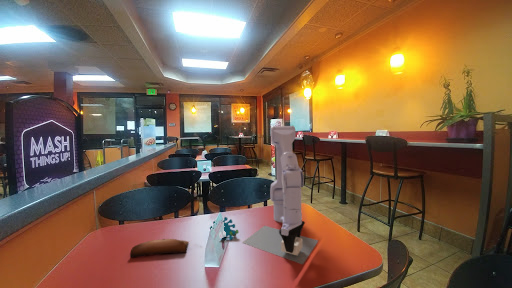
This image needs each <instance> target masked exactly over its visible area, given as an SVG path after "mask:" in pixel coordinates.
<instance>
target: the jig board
mask: <svg viewBox="0 0 512 288" xmlns="http://www.w3.org/2000/svg"><path fill="white" fill-rule="evenodd" d="M279 230H280V229H279V228H275V227H271V226H267V225H263V226H262V227H261V228H260V229H258V230H257V231H256V232H255V233H253V234H251V235H250V236H249V237H247V238H246V239H245V240H243V241H241V242H242V244H245V245H247V246H250V247H252V248H255V249H258V250H262V251H264V252H266V253H270V254H272V255H275V256H278V257H279V258H280V257H281V258H284V259H287V260H289V261H292V262H295V263H297V264H300V265H304V263H306V260H307V259H308V258H309V256H310V254H311V253H312V251H313V250H314V248H315V247H316V245H317V244H318V242H319V240H317V239H314V238H310V237H308V236H303V235H300V238H302V249H301V250H300V252H299V254H298V255H294V254H290V253H287V252H283V251H281V242H282V240H283V239H282V237H281V235H280V234H279Z"/></svg>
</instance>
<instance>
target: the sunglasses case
mask: <svg viewBox="0 0 512 288" xmlns="http://www.w3.org/2000/svg"><path fill="white" fill-rule="evenodd" d="M189 242H190V241H187V240H183V239H175V238H162V239H154V240H153V239H152V240H148V241H145V242H141V243H139V244H138V243H137V244H135V245H134V246H133V247H132V248H131V249H130V253H129V257H130V258H138V257H144V256H149V255H162V254H177V253H178V254H179V253H187V251H188V248H189V244H190V243H189Z"/></svg>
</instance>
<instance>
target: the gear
mask: <svg viewBox="0 0 512 288" xmlns="http://www.w3.org/2000/svg"><path fill="white" fill-rule="evenodd" d="M215 221H216V220H214V221H212V223H213V225H214V223H215ZM226 221H227V222H226ZM222 222H224V226H225V227H224V231H225V232H226V237H228V238H229V241H231V240H233V239H234V238H233V237H235V236H237V235H238V234H239V233H240V232H239V230H238V229H236V223H234V224H232V223H233V219H231V218H230V219H229V218H228V217H226V216H224V218H223V221H222ZM213 225H211V226H210V227H209V230H210V231H212V230H211V228H212V226H213ZM232 228H233V229H232ZM234 229H235V230H234Z"/></svg>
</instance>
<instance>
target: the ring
mask: <svg viewBox="0 0 512 288" xmlns="http://www.w3.org/2000/svg"><path fill="white" fill-rule="evenodd" d="M295 241H296V244H294V249H293V252H292V253H290V252H287V253H290V254H294V255H298V254H299V252H300V250H301V249H302V238H299V237H296V238H295ZM281 251H283V252H286V249H285V245H284V242H283V240H282V242H281Z"/></svg>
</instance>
